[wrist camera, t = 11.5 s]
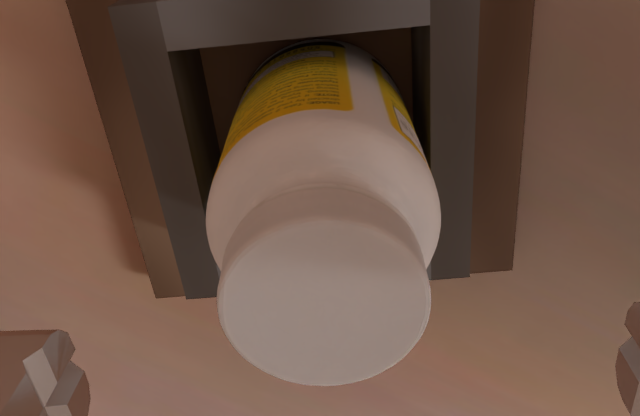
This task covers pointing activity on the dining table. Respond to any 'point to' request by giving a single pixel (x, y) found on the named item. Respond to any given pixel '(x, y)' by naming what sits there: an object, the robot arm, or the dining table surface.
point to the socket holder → (243, 60)
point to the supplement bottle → (323, 219)
